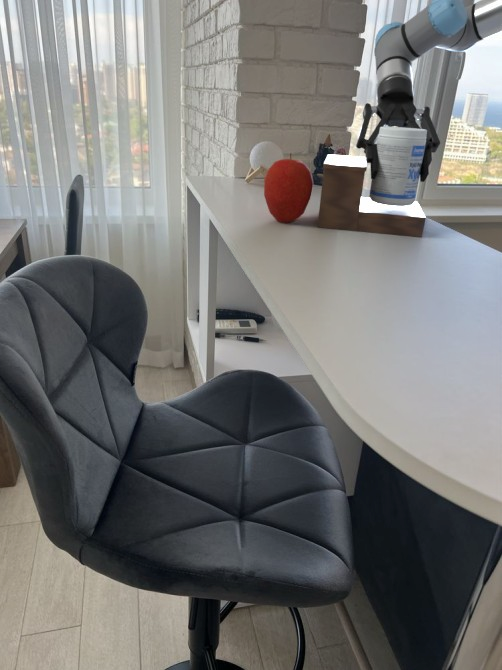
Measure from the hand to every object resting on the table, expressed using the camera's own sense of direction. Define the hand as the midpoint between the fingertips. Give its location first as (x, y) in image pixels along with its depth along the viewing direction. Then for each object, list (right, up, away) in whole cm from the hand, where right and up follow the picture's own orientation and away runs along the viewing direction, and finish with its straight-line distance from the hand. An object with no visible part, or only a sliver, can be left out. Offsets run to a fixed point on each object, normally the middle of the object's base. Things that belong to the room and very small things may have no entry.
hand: (399, 176), depth 102 cm
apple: (-23, -8, +6) cm, 25 cm away
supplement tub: (0, -4, +6) cm, 7 cm away
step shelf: (-5, -8, +8) cm, 12 cm away
